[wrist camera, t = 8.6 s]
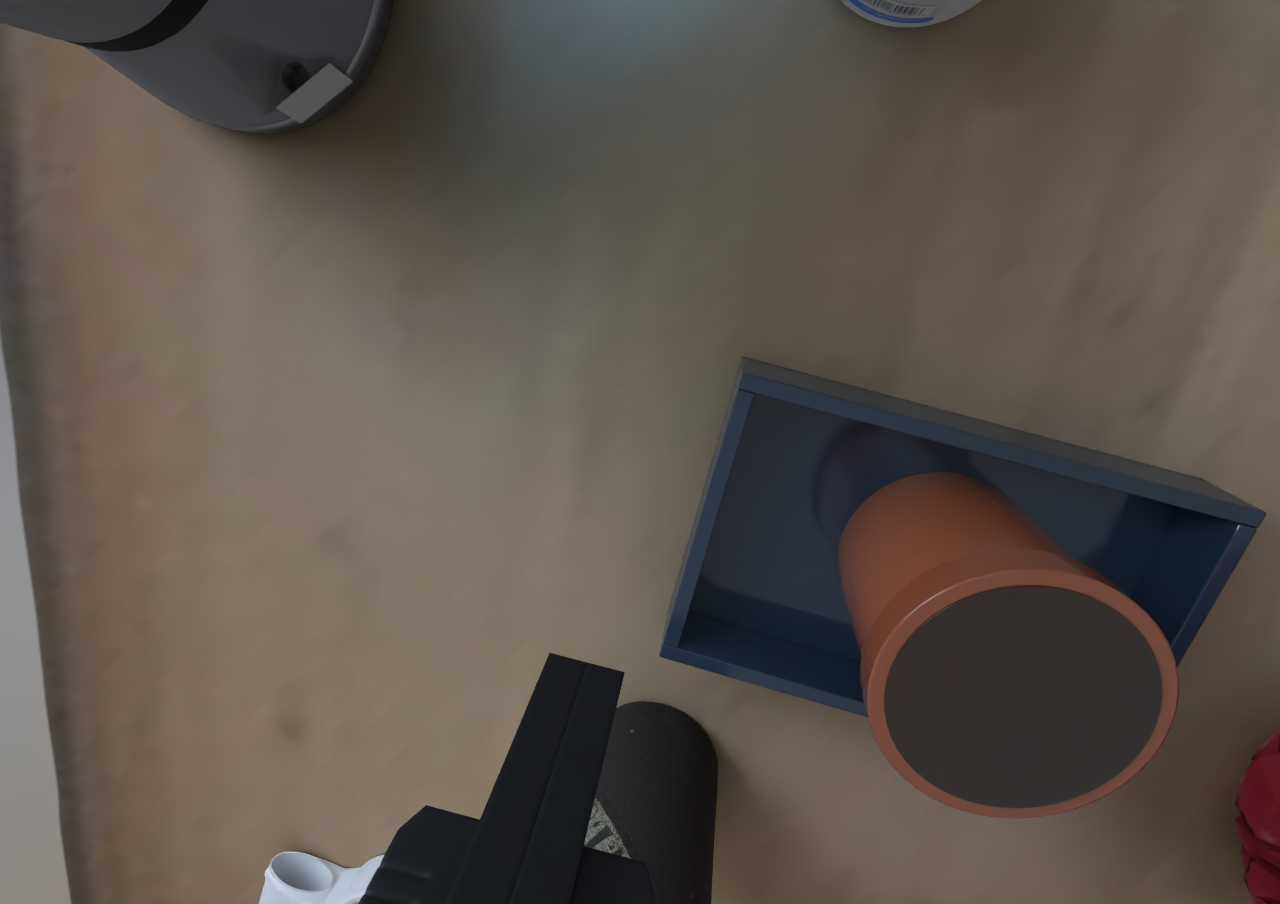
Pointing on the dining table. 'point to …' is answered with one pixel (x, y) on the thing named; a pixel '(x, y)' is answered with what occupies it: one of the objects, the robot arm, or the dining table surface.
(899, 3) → the supplement tub
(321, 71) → the robot arm
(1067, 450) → the tray
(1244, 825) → the bouquet
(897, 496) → the flower pot
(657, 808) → the container
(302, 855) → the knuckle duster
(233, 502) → the dining table surface
